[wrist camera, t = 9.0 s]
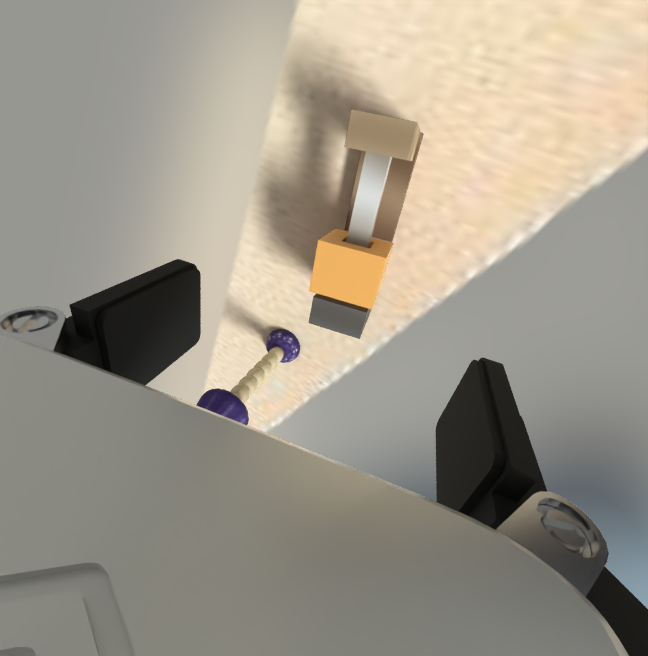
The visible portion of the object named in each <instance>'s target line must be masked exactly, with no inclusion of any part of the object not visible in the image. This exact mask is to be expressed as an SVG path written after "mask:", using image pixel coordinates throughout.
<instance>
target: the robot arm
mask: <svg viewBox="0 0 648 656" xmlns="http://www.w3.org/2000/svg"><path fill="white" fill-rule="evenodd" d="M70 309H71V313H72V316H71V317H68V318H66V317H65V314H64V313H63V312H62V311H60V310H58V309H56V308H51V307H41V306H37V307H26V308H21V309H16V310H13V311H10V312H7V313H5V314H3V315H1V316H0V656H648V609H647V608H646V607H645V606H644V605H643V604H642V603H641V602H640V601H639V600H638V599H637V598H636V597H635V596H634V595H633V594H632V593H631V592H630V591H629V590H628V589H627V588H625V586H624V585H623V584H622V583H620V582H619V580H618V579H617V578H616V577H615V576H614V575H613V574H612V573H611V572H610V571H608V569H607V568H606V567H605V564H606V563H607V559H608V555H609V552H608V548H607V543H606V541H605V539H604V538H603V535H602V534H601V532H600V530H599V529H598V528H597V526H596V525H595V524H594V523H593V521H592V520H591V519H590V518H589V517H588V516H587V515H586V514H585V513H584V512H583V511H582V510H581V509H580V508H578V507H577V506H576V505H574V504H573V503H572V502H570V501H569V500H567V499H565V498H563V497H561V496H559V495H557V494H554V493H551V492H547V489H546V487H545V484H544V481H543V478H542V475H541V472H540V469H539V466H538V463H537V460H536V457H535V454H534V451H533V449H532V446H531V442H530V440H529V436H528V433H527V430H526V428H525V424H524V422H523V419H522V417H521V416H520V414H519V411H518V408H517V405H516V402H515V399H514V396H513V393H512V390H511V387H510V384H509V381H508V378H507V375H506V372H505V370H504V366H503V364H501V363H497V362H495V361H492V360H488V359H486V358H481V359H480V360H479V361H477V360H473V361H472V362H471V363H470V365H469V367H468V369H467V371H466V372H465V374H464V376H463V378H462V379H461V381H460V383H459V385H458V386H457V388H456V390H455V392H454V394H453V395H452V397H451V399H450V401H449V402H448V404H447V406H446V408H445V410H444V411H443V413H442V415H441V417H440V418H439V420H438V423H437V426H436V473H437V475H436V479H437V480H436V481H437V502H435V501H433V500H431V499H428V498H426V497H424V496H422V495H419V494H417V493H414V492H412V491H409V490H407V489H404V488H402V487H399V486H397V485H394V484H392V483H389V482H387V481H385V480H382V479H380V478H378V477H375V476H373V475H370V474H368V473H365V472H363V471H360V470H358V469H355V468H353V467H350V466H348V465H345V464H343V463H340V462H338V461H335V460H332V459H330V458H328V457H325V456H323V455H320V454H318V453H315V452H313V451H310V450H307V449H305V448H303V447H300V446H298V445H295V444H293V443H290V442H287V441H285V440H283V439H280V438H278V437H275V436H272V435H270V434H267V433H265V432H262V431H260V430H257V429H255V428H252V427H250V426H247V425H245V424H242V423H240V422H237V421H235V420H232V419H229V418H227V417H224V416H222V415H219V414H217V413H214V412H212V411H209V410H206V409H204V408H201V407H199V406H196V405H194V404H191V403H189V402H186V401H183V400H181V399H178V398H176V397H173V396H171V395H168V394H165V393H163V392H160V391H158V390H155V389H152V388H150V387H147V386H145V385H146V384H147V383H149V382H150V381H151V380H153V379H154V378H155V377H156V376H157V375H159V374H160V373H161V372H162V371H164V370H165V369H166V368H167V367H169V366H170V365H171V364H172V363H173V362H175V361H176V360H177V359H178V358H179V357H180V356H182V355H183V354H184V353H186V352H187V351H188V350H189V349H190V348H192V347H193V346H194V345H195V344H196V343H197V342H198V340H199V338H200V272H199V270H197V268H196V266H195V265H194V264H192V263H189V262H185V261H182V260H179V259H177V260H174V261H172V262H169V263H167V264H165V265H162V266H160V267H157V268H155V269H153V270H151V271H148V272H146V273H143V274H141V275H139V276H136V277H134V278H132V279H129V280H127V281H124V282H122V283H120V284H117V285H115V286H113V287H110V288H108V289H106V290H103V291H101V292H99V293H96V294H94V295H92V296H89V297H87V298H85V299H82V300H80V301H77V302H75V303H73V304H71V305H70Z"/></svg>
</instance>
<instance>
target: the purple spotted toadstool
mask: <svg viewBox="0 0 648 656" xmlns="http://www.w3.org/2000/svg"><path fill="white" fill-rule="evenodd" d="M266 348H267V351H268V354H266V355H265V356H264V357H263V358H262V360H261V361H259V362H258V363H257V364H256V365H255V367H254V368H253V369H251V370H250V371H249V372H248V373H247V375H246V376H245V377H244V378H242V379H241V380H240V382H239V384H238V385H236V386H235V387H234V388H233V389H232V390H231V392H229V391H226V390H223V389H212V390H209V391H207V392H206V393H204V394H203V396H202V397H201V398H200V400H199V402H198V403H197V405H196V406H199V407H201V408H204V409H206V410H209V411H212V412H214V413H217V414H219V415H222V416H224V417H227V418H229V419H232V420H235V421H237V422H240V423H242V424H245V425H247V424H248V420H249V417H248V411H247V409H246V407H245V405H244V404H243V403H245V402H246V401H247V399H248V398H249V395H250V394H252V393H253V392H254V391H255V390H256V388H257V386H258V385H260V384H261V383H262V382H263V380H264V378H265V377H267V376H268V375H269V374H270V372H271V370H272V369H274V368H275V367H276V365H277V363H279V362H282V363H285V362H290V361H292V360H294V359H295V358H296V357H297V356H298V355H299V352H300V345H299V342H298V340H297V338H296V337H295V336H294V335H293V334H292V333H291V332H289V331H286V330H275V331H273V332H272V333H271V334H270V335H269V337H268V339H267V343H266Z"/></svg>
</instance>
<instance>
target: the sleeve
mask: <svg viewBox="0 0 648 656" xmlns="http://www.w3.org/2000/svg"><path fill="white" fill-rule="evenodd" d="M347 235H348V231H345V230H341V229H337V228H335V229H334V230H332V231H331V232H329V233H328V234H326V235H325V236H323V237H322V238H320V239H319V240H318V244H317V249H316V255H315V261H314V266H313V272H312V278H311V283H310V289H309V291H311V292H314V293H317V294H321V295H324V296H328V297H331V298H334V299H338V300H341V301H344V302H348V303H351V304H355V305H358V306H361V307H365V308H368V309H372V307H373V305H374V303H375V300H376V298H377V295H378V293H379V290H380V288H381V284H382V281H383V277H384V274H385V271H386V267H387V264H388V260H389V257H390V254H391V250H392V247H393V243H391V242H387V241H383V240H379V239H376V238H372V237H371V241H370V245H369V248H366V247H362V246H359V245H355V244H351V243H347V242H346V240H347Z"/></svg>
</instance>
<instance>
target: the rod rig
mask: <svg viewBox="0 0 648 656" xmlns="http://www.w3.org/2000/svg"><path fill="white" fill-rule="evenodd" d="M422 137H423V133H420V130H419V126H418V123H417V122H414V121H409V120H404V119H399V118H394V117H388V116H383V115H378V114H373V113H368V112H363V111H357V110H352V109H351V115H350V120H349V125H348V130H347V136H346V141H345V146H344V147H347V148H352V149H357V150H361V155H360V160H359V165H358V169H357V174H356V179H355V183H354V188H353V193H352V197H351V202H350V207H349V211H348V216H347V221H346V226H345V231H348V235H347V240H346V242H347V243H351V244H355V245H359V246H362V247H366V248H369V245H370V241H371V237H372V238H376V239H379V240H383V241H387V242H391V243H392V241H393V237H394V234H395V230H396V227H397V223H398V220H399V216H400V213H401V210H402V206H403V203H404V199H405V196H406V192H407V189H408V186H409V182H410V179H411V175H412V172H413V168H414V165H415V161H416V158H417V155H418V151H419V148H420V144H421V141H422ZM370 312H371V309H368V308H365V307H361V306H358V305H355V304H351V303H348V302H344V301H341V300H338V299H334V298H331V297H328V296H324V295H321V294H316V295H315V296H314V297H313V302H312V308H311V313H310V318H309V323H310V324H314V325H317V326H320V327H323V328H326V329H330V330H333V331H336V332H339V333H342V334H346V335H349V336H352V337H355V338H358V339H360V337H361V334H362V332H363V329H364V327H365V324H366V322H367V319H368V317H369V314H370Z"/></svg>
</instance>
